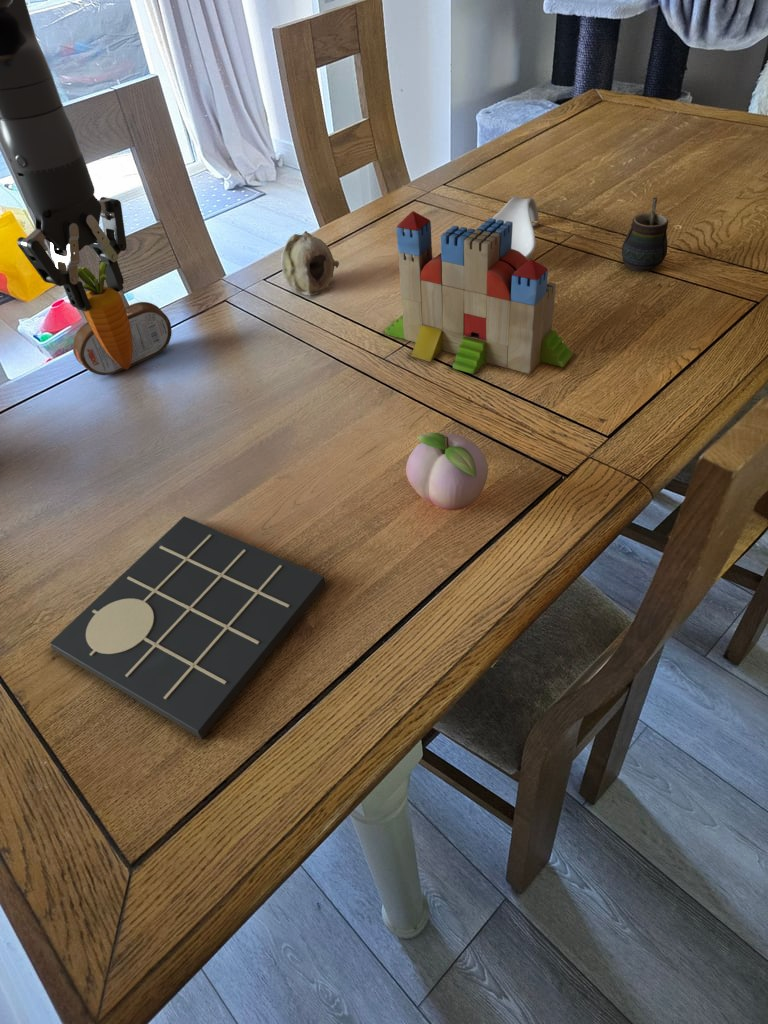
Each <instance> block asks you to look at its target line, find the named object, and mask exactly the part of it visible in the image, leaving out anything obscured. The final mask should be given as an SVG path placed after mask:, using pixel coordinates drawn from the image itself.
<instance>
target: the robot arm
mask: <svg viewBox="0 0 768 1024" xmlns="http://www.w3.org/2000/svg"><path fill="white" fill-rule="evenodd" d="M0 142H1V146H2V148H3V150H4V153H5V155H6V157H7V160H8V162H9V164H10V166H11V169H12V172H13V174H14V176H15V178H16V181H17V184H18V186H19V188H20V190H21V193H22V196H23V197H24V201H25V203H26V205H27V206H28V207H29V209H30V211H31V213H32V214H33V217H34V230H33V231H32V232H31V233H30V234H29V235H27V237H24V236H20V237H18V238H17V240H16V244H17V246H18V248H19V249H20V250H21V252H22V253H23V254H24V256H25V257H26V259H27V260H28V262H29V263H30V264H31V266H32V267H33V269H35V271H36V272H37V274H38V275H39V276H40V278H41V279H42V280H43V282H45V283H48V284H52V285H56V286H57V287H63V289H64V291H65V294H66V296H67V299H68V300H69V303H70V305H71V306H72V307H73V308H76V309H77V310H79V311H83V312H84V311H85V312H87V311H88V310H90V309H91V305H90V302H89V300H88V297H87V295H86V292H87V291H86V289H85V288H84V287H83V286H84V285H83V282H82V281H81V280H79V278H80V277H79V276H78V268H79V267H78V264H80V262H81V260H80V259H81V257H80V251H82V249H84V247H86V246H88V247H89V248H90V249H91V250H92V252H93V253H94V254H95V256H96V257H97V258H98V259H99V261H98V265H99V266H100V264H101V262H105V263H107V267H106V272H105V275H107V278H106V279H105V280H104V282H105V283H106V287H110V288H112V289H114V290H115V291H117V292H118V293H119V292H121V291H123V290H124V276H123V274H122V271H121V268H120V265H119V262H118V260H119V254H120V253H121V252H124V251H126V250H127V247H128V245H127V237H126V232H125V231H126V230H125V223H124V216H123V207H122V202H121V200H119V199H115V198H110V197H106V196H101V197H100V198H99V199H97V197H96V196H95V186H94V183H93V181H92V178H91V174H90V172H89V169H88V167H87V163H86V160H85V157H84V155H83V152H82V148H81V146H80V143H79V139H78V137H77V134H76V132H75V129H74V127H73V124H72V122H71V120H70V117H69V116H68V114H67V111H66V109H65V107H64V105H63V102H62V99H61V96H60V92H59V89H58V87H57V84H56V81H55V78H54V75H53V73H52V71H51V68H50V66H49V63H48V61H47V58H46V56H45V54H44V52H43V49H42V47H41V46H40V44H39V41H38V38H37V35H36V32H35V29H34V25H33V22H32V19H31V16H30V12H29V8H28V5H27V3H26V0H0ZM100 220H101V223H102V228H103V229H102V228H101V226H100ZM45 240H46V241H48V242H49V244H50V254H51V257H50V255H49V254H48V253H47V251H49V249H48V247H47V245H46V243H45ZM65 252H67V253H65Z"/></svg>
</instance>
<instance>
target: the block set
mask: <svg viewBox="0 0 768 1024" xmlns="http://www.w3.org/2000/svg"><path fill="white" fill-rule="evenodd" d="M431 223H432V222H431V220H430V219H429V218H427V217H425V216H423V215H422V214H420V213H417V212H416V211H414V210H413V211H411V212H410V213H408V215H407V216H405V217H404V218H403V219H402V220H401V221H400V222H399V223H398V224H397V225H396V241H397V252H398V267H399V284H400V296H401V313H402V314H401V315H400V316H399V317H398V318H397V319H396V320H394V321H393V322H392V323H391V324H390V325H389V326H387V328H385V330H384V332H385V335H387V336H391V337H395V338H399V339H402V340H403V339H404V340H405V341H409V342H412V343H415V344H414V346H413V348H412V352H411V355H410V356H411V357H413V358H416V359H419V360H423V361H425V362H432V361H433V360H434V359H435V358H436V357H437V356H438V355H439V354H440V353H442V352H443V351H444V352H447V353H449V354H454V355H455V361H454V362H452V368H453V369H454V370H458V371H460V372H463V373H468V374H473V375H475V373H476V372H477V371H478V370H479V369H481V367H482V366H483V365H484V364H485V363H487V364H490V365H494V366H498V367H502V368H504V369H505V368H507V369H510V370H513V371H518V372H521V373H525V374H531V373H532V372H533V371H534V370H535V368H536V367H537V366H538V365H539V363H541V362H542V363H545V364H550V365H553V366H557V367H561V368H564V367H565V366H566V365H567V363H568V362H569V360H570V359H571V358H572V357H573V355H574V351H573V350H572V349H569V348H568V347H569V344H568V343H566V342H563V337H562V336H559V335H558V330H557V329H552V327H553V320H554V319H553V318H554V308H555V299H556V287H557V284H556V282H551V281H549V282H548V279H549V278H548V277H549V268H548V267H546V266H545V265H543V264H542V263H541V262H538V261H537V260H535V259H533V258H529V260H527V258H526V257H525V256H524V255H523V254H521V253H520V252H519V251H517V250H514V249H512V248H511V244H512V228H513V222H510V221H506V222H505V223H504V221H503V220H498V221H497V222H496V219H493V217H491V218H488V219H487V220H486V221H484V222H483V223H482V224H481V225H480V226H479V227H478V228H476V229H475V228H471V227H469V228H468V227H465V226H461V227H460V226H459V225H452V226H450V228H448V229H446V230H445V232H443V233H442V234H441V235H440V253H438V254H437V255H436V256H433V247H432V246H433V245H432V243H433V242H432V225H431Z"/></svg>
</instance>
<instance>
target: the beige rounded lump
mask: <svg viewBox="0 0 768 1024" xmlns="http://www.w3.org/2000/svg"><path fill="white" fill-rule="evenodd" d="M280 266H281V271H282V273H283V276H284V279H285V281H286V283H287V284H288V286H289V287H291V289H292V290H293V291H294V293H295V292H296V293H297V294H302V295H306V296H314V295H318V294H319V293H320V292H322V291H325V290H326V289H327V287H328V286H329V284H330V282H331V280H332V279H333V277H334V272H335V268H336V269H337V268H339V266H340V262H339V261H338V260H335V259H334V257H333V254H332V252H331V250H330V247H329V246H328V245H327V243H326V242H324V241H323V240H322V239H320V238H318V237H316V236H314V235H312V234H311V233H310V232H308V231H307V230H305V231H303V233H302V234H298V233H294V234H292V235H291V236H290V237H289V238H288V239H287V241H286V243H285V245H284V247H283V249H282V251H281V257H280Z"/></svg>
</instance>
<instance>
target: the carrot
mask: <svg viewBox="0 0 768 1024" xmlns="http://www.w3.org/2000/svg"><path fill="white" fill-rule="evenodd" d="M106 267H107V263H105V262H101V264H100V265H99V269H98V278H96V276H95V275H94V274H93V273H92V272H91V270H90V269H89V268H88V267H86V266H83V267H80V266H79V267H78V278H80V279H81V280H82V281H83V283H84V285H83V287H84V290H86V291H85V292H86V295H87V297H88V300H89V302H90V305H91V309H90V310H88V311H87V312H85V311H83V313H84V315H85V318H86V319H87V322H89V324H90V326H91V328H92V330H93V332H94V334H95V336H96V337H97V339H98V341H99V342H100V344H101V345H102V347H103V348H104V350H105V351H106V353H107V354H108V355H109V356H110V357H111V358H112V359H113V360H114V361H115V362H116V363H117V364H118V365H120V366H121V367H122V368H124V369H123V370H129V368H130V367H131V366H130V365H131V359H132V352H133V343H132V334H131V328H130V323H129V320H128V316H127V313H126V309H125V307H126V306H125V303H124V301H123V297H122V295H121V294H120V293H119V292H117V291H115V290H114V289H112V288H110V287H108V286H105V279H106V278H107V275H105V272H106Z"/></svg>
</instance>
